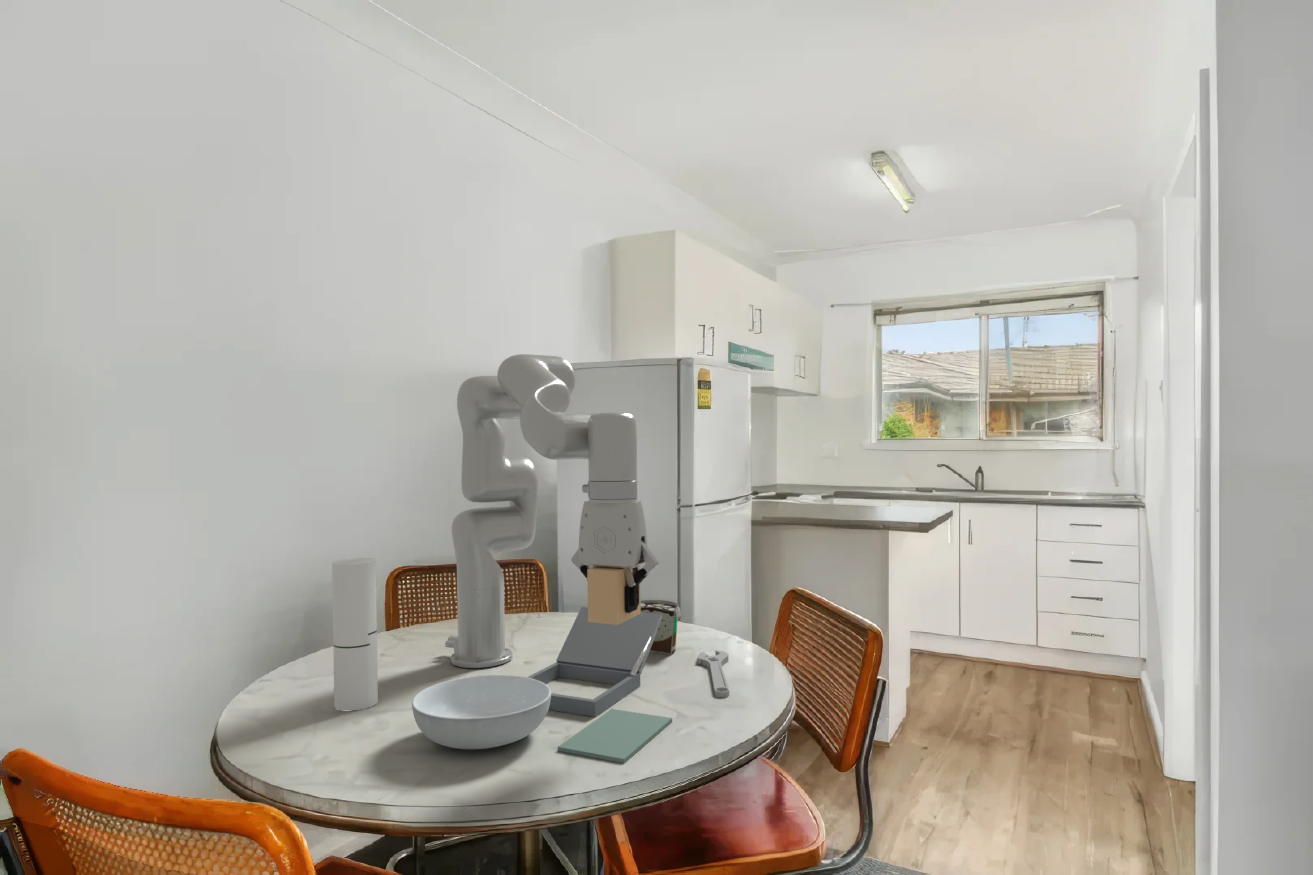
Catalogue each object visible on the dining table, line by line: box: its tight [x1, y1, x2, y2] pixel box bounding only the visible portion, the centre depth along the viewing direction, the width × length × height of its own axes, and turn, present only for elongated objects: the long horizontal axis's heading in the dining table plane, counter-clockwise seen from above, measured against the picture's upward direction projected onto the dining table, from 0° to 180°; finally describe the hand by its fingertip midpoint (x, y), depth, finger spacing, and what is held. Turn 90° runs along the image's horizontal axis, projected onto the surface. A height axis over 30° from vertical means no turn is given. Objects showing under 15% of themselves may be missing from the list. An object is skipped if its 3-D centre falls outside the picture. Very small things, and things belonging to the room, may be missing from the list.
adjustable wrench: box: [696, 650, 730, 698], centre depth 147 cm, size 25×6×2 cm, turn 175°
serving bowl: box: [411, 674, 552, 750], centre depth 118 cm, size 21×21×7 cm
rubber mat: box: [557, 708, 673, 764], centre depth 118 cm, size 11×17×1 cm, turn 155°
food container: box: [640, 599, 682, 656], centre depth 166 cm, size 12×6×10 cm, turn 58°
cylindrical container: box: [331, 557, 379, 711], centre depth 134 cm, size 7×7×25 cm
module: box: [586, 564, 641, 625], centre depth 118 cm, size 5×8×8 cm, turn 155°
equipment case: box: [527, 606, 662, 718], centre depth 142 cm, size 18×27×11 cm, turn 155°
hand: (614, 608), depth 118 cm, fingers closed on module, 5 cm apart
